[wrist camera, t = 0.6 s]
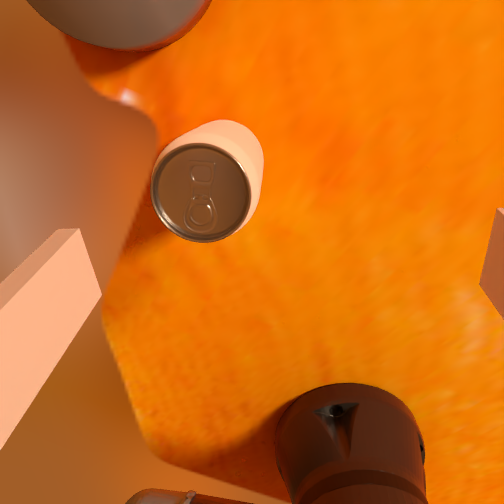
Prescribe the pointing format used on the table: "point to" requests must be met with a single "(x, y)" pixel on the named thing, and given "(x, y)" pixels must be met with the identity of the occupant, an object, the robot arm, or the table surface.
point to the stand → (123, 21)
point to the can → (208, 181)
